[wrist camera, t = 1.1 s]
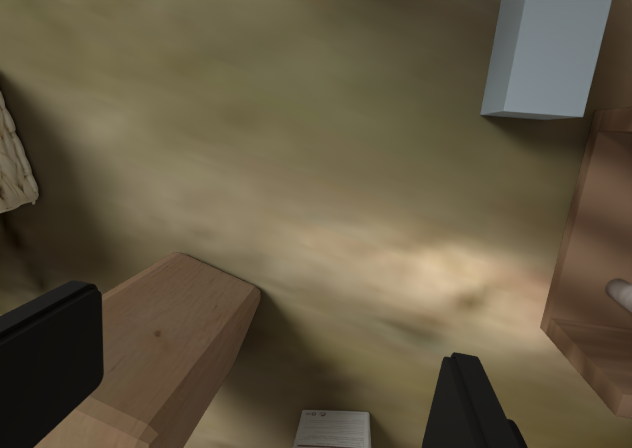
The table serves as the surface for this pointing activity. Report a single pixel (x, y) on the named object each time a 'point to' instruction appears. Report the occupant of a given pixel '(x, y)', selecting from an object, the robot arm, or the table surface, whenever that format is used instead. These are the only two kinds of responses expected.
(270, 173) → the table surface
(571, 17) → the grey rectangular block
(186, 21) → the table surface
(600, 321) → the peg frame
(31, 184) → the storage basket
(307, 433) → the supplement box
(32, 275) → the table surface
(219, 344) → the wooden block
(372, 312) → the table surface
